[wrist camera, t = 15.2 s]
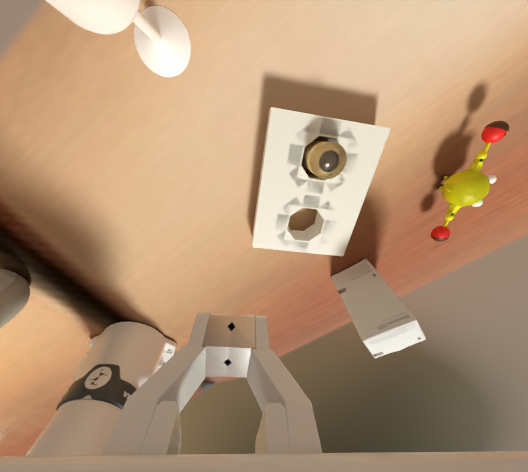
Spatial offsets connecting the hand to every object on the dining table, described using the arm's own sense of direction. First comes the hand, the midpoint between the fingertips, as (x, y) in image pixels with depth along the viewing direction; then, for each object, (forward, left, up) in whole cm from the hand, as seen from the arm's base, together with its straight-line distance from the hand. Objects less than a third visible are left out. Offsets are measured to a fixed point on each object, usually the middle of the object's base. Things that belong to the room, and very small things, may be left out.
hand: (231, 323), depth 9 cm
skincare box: (-16, -24, -27) cm, 40 cm away
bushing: (+6, -10, -27) cm, 30 cm away
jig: (+1, -10, -27) cm, 29 cm away
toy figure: (+5, -33, -27) cm, 43 cm away
